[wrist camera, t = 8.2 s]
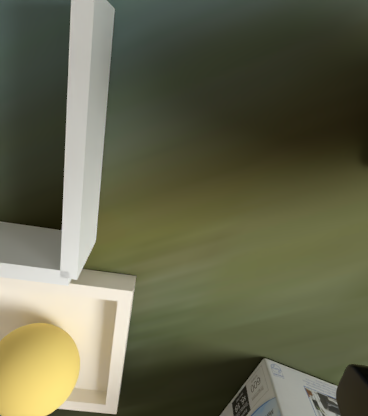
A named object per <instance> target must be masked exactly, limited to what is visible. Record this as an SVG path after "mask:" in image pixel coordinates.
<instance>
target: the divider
mask: <svg viewBox="0 0 368 416" xmlns="http://www.w3.org/2000/svg"><path fill="white" fill-rule="evenodd" d="M114 14H115V8H114V7H113V6H112V5H111V4H110V3H109V2H108V1H107V0H71V16H70V41H69V66H68V90H67V115H66V140H65V164H64V189H63V213H62V230H57V229H50V228H43V227H36V226H29V225H22V224H15V223H8V222H1V221H0V277H3V278H11V279H19V280H27V281H34V282H42V283H50V284H58V285H66V286H68V285H69V283H70V281H71V279H74V280H77V279H78V277H79V275H80V273H81V271H82V269H83V267H84V264H85V262H86V260H87V258H88V256H89V254H90V252H91V250H92V248H93V246H94V244H95V242H96V233H97V221H98V209H99V196H100V184H101V172H102V160H103V148H104V136H105V123H106V111H107V99H108V87H109V75H110V63H111V51H112V38H113V26H114Z"/></svg>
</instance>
